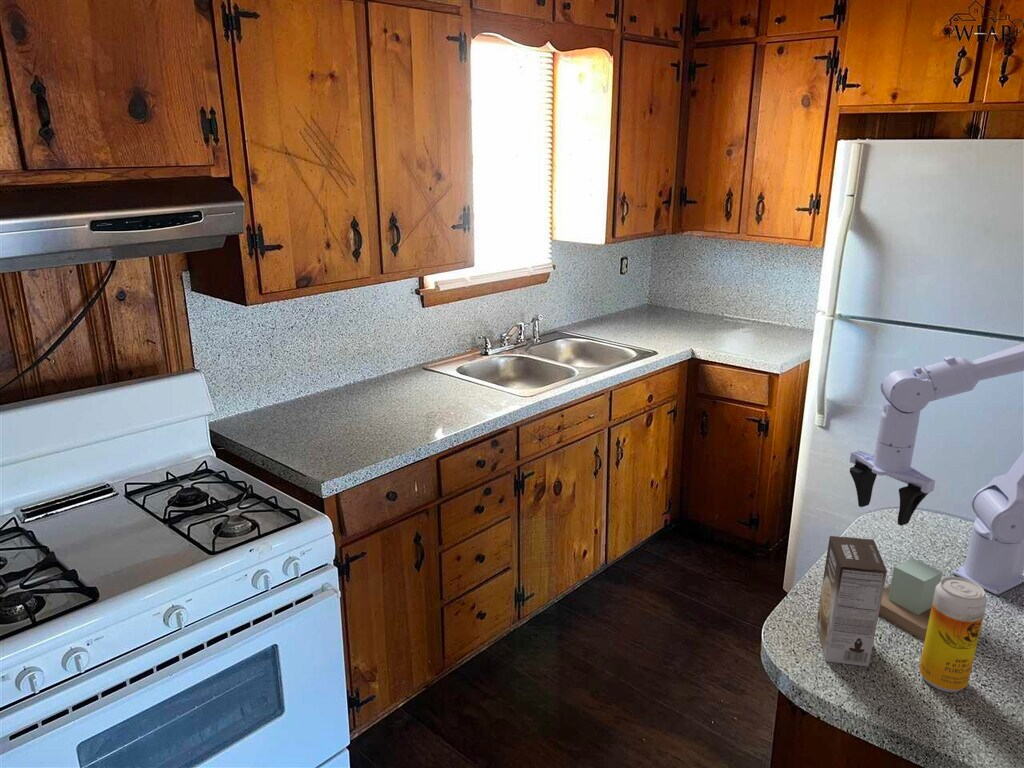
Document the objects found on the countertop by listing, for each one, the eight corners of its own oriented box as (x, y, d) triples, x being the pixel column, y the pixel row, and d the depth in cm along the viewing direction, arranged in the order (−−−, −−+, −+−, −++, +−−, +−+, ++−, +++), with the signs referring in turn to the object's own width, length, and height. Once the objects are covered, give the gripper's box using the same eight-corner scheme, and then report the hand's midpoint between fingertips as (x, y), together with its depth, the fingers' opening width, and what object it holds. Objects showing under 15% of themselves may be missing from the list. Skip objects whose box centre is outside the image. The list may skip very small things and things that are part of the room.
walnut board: (901, 592, 130) (904, 579, 129) (959, 623, 122) (962, 610, 121) (863, 609, 125) (866, 596, 125) (921, 643, 117) (924, 629, 116)
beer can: (946, 699, 105) (967, 604, 100) (908, 672, 110) (926, 580, 105) (977, 687, 107) (999, 594, 102) (938, 661, 112) (957, 571, 108)
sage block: (906, 590, 126) (912, 557, 124) (935, 605, 122) (942, 572, 120) (888, 599, 124) (894, 566, 122) (917, 615, 120) (924, 581, 118)
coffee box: (814, 625, 120) (828, 533, 115) (857, 630, 119) (873, 538, 114) (824, 662, 112) (840, 565, 107) (871, 668, 110) (889, 570, 106)
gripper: (843, 431, 133) (832, 502, 138) (921, 461, 121) (907, 538, 126) (869, 424, 137) (858, 494, 141) (948, 453, 125) (933, 527, 129)
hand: (882, 514), depth 133 cm, fingers open, 7 cm apart
